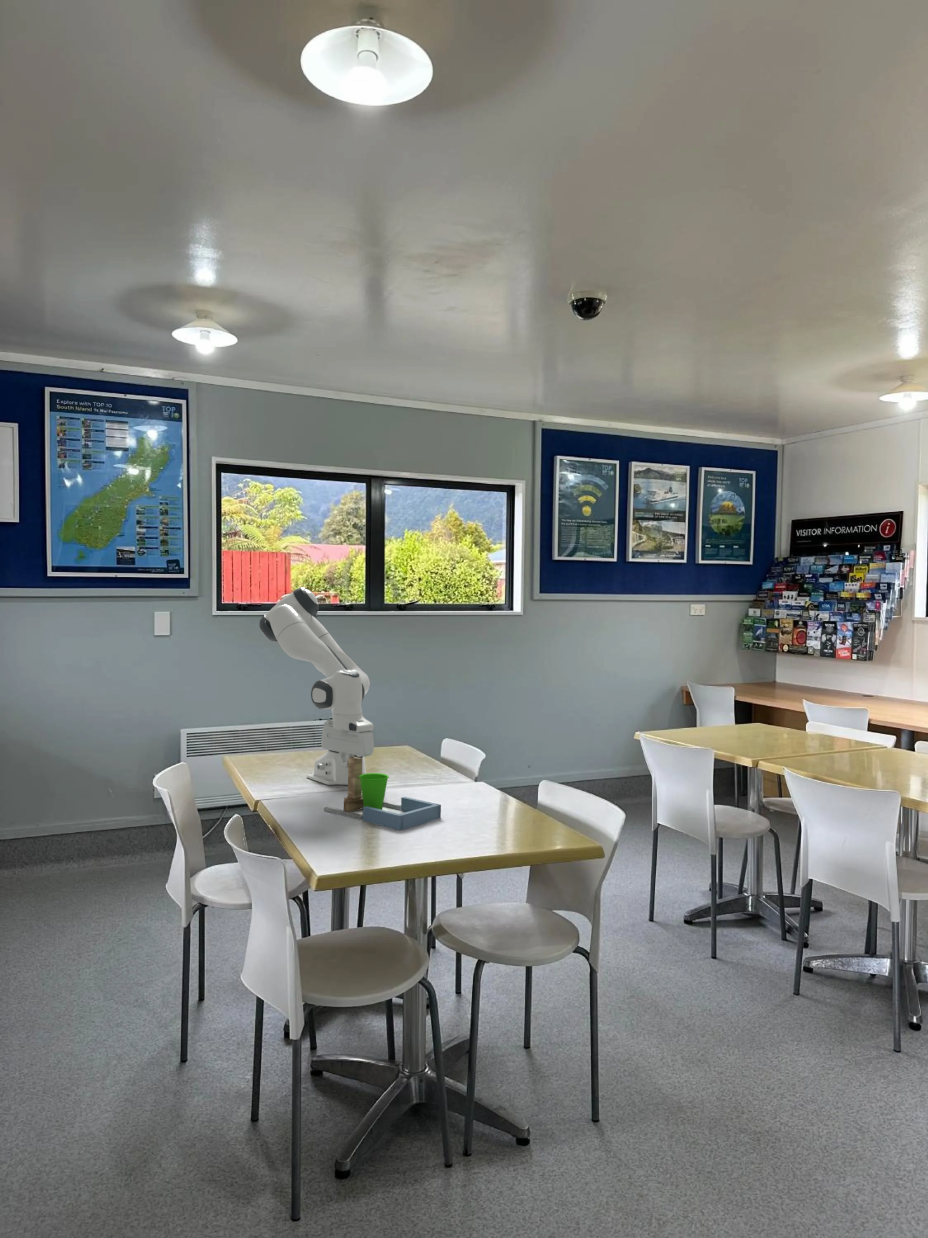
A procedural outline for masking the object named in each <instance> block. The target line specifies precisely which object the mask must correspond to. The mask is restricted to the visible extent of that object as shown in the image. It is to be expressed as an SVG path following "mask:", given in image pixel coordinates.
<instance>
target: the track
mask: <svg viewBox="0 0 928 1238" xmlns="http://www.w3.org/2000/svg"><path fill="white" fill-rule="evenodd" d="M383 807H386V808H391V809H395V810H398V811H401V804H397V803H392V802H389V801H383ZM323 811H324V812H328V813H333V814H337V815H341V816H344V817H349V818H351V819H356V820H360V821H363V814H360V813H355V812H354V811H351V812H349V811H345V810H344V809H340V808H335V807H332V806H328V805H324V806H323Z"/></svg>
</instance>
